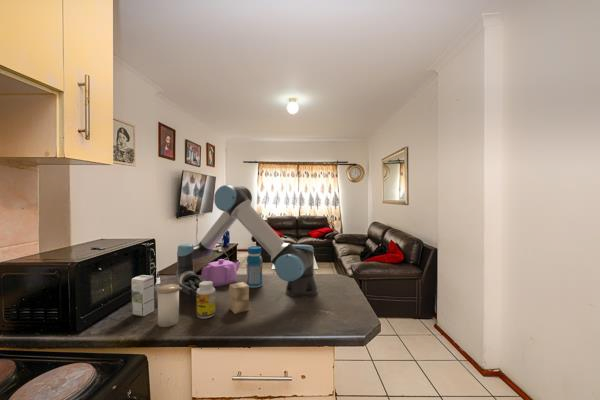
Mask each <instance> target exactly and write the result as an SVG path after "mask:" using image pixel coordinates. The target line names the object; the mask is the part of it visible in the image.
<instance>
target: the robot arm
mask: <svg viewBox="0 0 600 400" xmlns="http://www.w3.org/2000/svg"><path fill="white" fill-rule="evenodd" d="M252 200H253V194H252V192H251V191H250V190H249V188H248V187H246V186H243V185H232V184H224V185H221V186H220V187H218V188H217V190H216V191H215V193H214V201H213V202H214V205H215V207H216V208H217V209H218V210H219V211H223V212H222V213H221V215H220V216H219V217H218V218H217V220H216V221H215V222H214V223H213V225H212V226H211V228H210V229H209V230H208V231H207V232H206V234H205V235H204V237H203V238H202V239H201V240H200V241H199V243H198V244H197V245H194V244H192V243H181V244H178V246H177V252H176V255H177V268H176V269H177V270H176V271H175V278H176V279H177V281H178V282H179V283H180V284H178V285H179V292H183V293H184V294H186V295H188V296H192V295H193V297H195V298H197V290H198V289H199V283H200V282H203V281H208V280H205V279H204V280H202V279H201V278H200V276H198V275H197V274H196V273H195V271H194V264H195V261H198V260H202V259H206V258H208V257H210V256H211V255H212V254H213V251H214V248H215V246H217V244H218V242H220V240H221V239H222V238H223V237H224V235H225V234H226V233H227V231H228V230H229V229H230V228H231V226H232V225H233V224H234V223H235V222H236V221H237V220H238V221H239V222H240V224H241V225H242V227H244V228H245V229H246V230H247V231H248V232H249V234H250V235H251V236H252V237H253V238H254V239H255V240H256V242H258V244H259V245H261V246H260V247H261V248H263V249H264V250H265V251H266V253H267V254H268V255H269V256H270V262H271V264H272V265H274V272H275V274H276V275H277V276H278V278H280V280H283V281H285V282H287V284H286V286H285V293H286V295H288V296H290V297H295V298H309V297H313V296H316V295H317V293H318V285H317V283H316V280H315V277H314V266H315V265H314V264H315V263H314V261H315V260H314V254H315V250H314V249H315V248H314V246H313V245H312V244H311V245H310V244H292V243H290V242H285V240H283V239H282V237H280V236H279V235H278V233H277V232H276V231H275V230H274V229H273V228H272V227H271V226H270V225H269V224H268V223H267V222H266V221H265V219H264V218H263V217H262V216H261V215H260V214H259V213H258V212H257V211H256V209H254V207H253V206H252V202H253V201H252Z"/></svg>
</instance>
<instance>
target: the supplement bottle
mask: <svg viewBox="0 0 600 400" xmlns="http://www.w3.org/2000/svg"><path fill="white" fill-rule="evenodd" d="M202 281H203V282H200V283H199V289H198V290H197V296H196V317H197V318H199V319H203V320H204V319H210V318H212V317H213V316H215V315H216V288H215V287H213V282H212V281H205V280H202Z"/></svg>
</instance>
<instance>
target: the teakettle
mask: <svg viewBox="0 0 600 400" xmlns="http://www.w3.org/2000/svg"><path fill="white" fill-rule="evenodd" d="M240 266H241V261H236V262H234V261H230V260H228V259H224V258H220V259H217V260H216V261H211V262H207V263H206V265H205V266H202V267H201V276H200V278H202V279H203V280H204V281H205V280H208V281H212V282H213V287H214V288H215V287H221V286H225V285H227V286H228V285H229V284H235V283H237V278H238V269H239V267H240Z"/></svg>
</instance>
